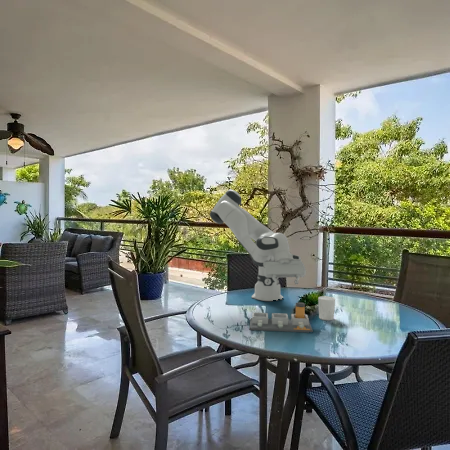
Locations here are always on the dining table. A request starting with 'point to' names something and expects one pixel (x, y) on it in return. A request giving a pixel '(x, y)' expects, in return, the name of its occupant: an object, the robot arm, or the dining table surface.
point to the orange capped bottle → (300, 310)
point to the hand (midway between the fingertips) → (287, 283)
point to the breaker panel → (275, 327)
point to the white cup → (326, 307)
